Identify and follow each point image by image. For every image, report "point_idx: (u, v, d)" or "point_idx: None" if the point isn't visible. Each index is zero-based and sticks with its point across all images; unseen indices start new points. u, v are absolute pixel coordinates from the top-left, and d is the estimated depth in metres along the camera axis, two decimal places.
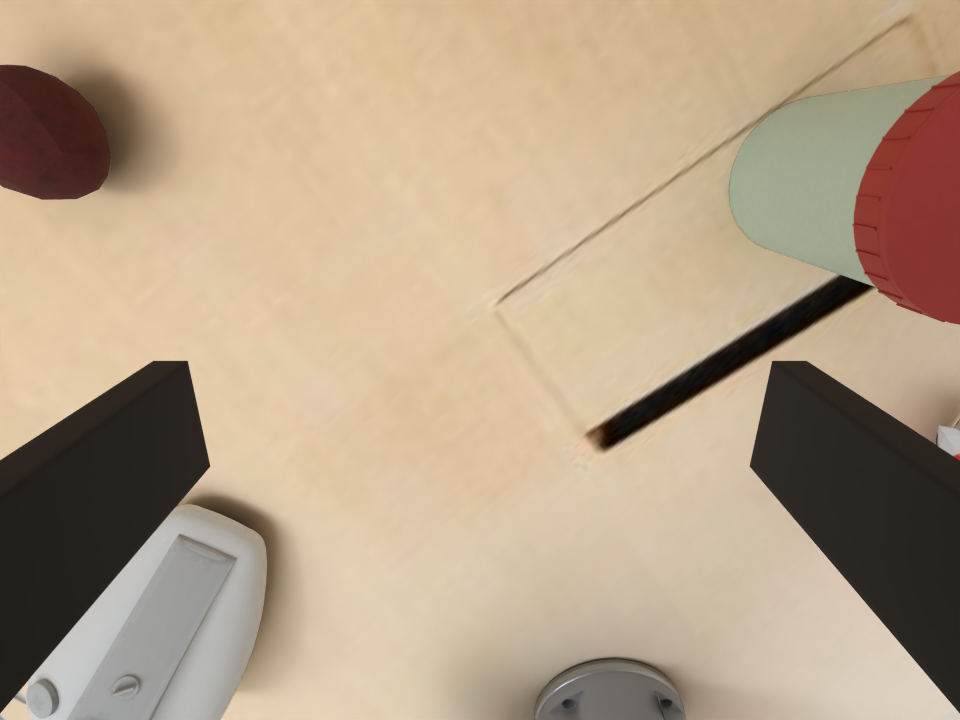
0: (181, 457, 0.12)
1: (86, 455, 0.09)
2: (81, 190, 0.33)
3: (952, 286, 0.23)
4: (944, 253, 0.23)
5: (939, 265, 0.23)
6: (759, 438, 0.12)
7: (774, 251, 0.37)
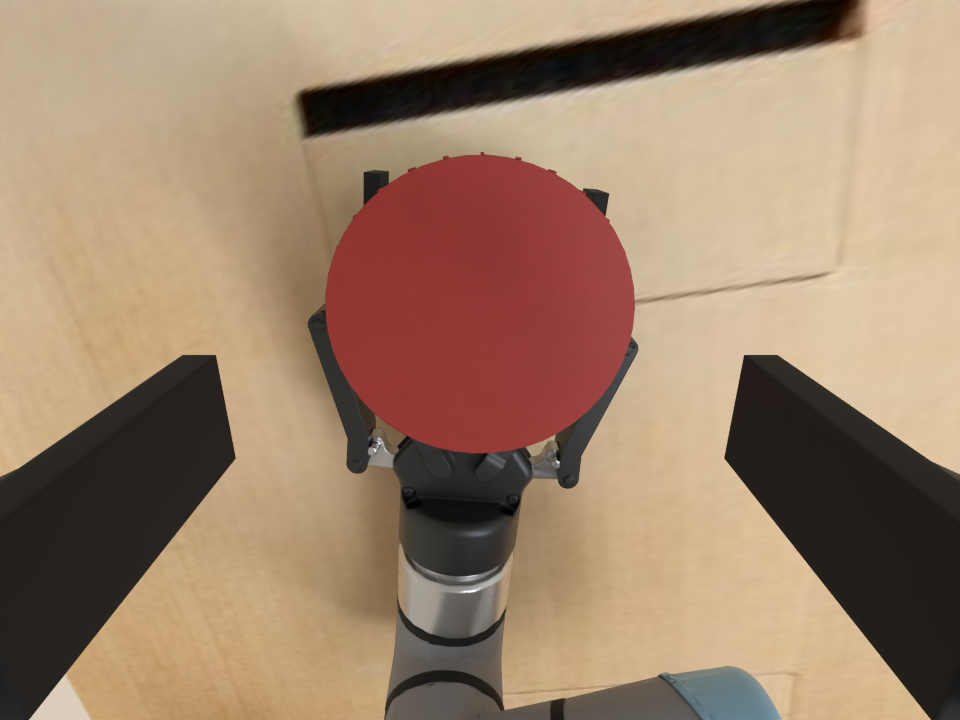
0: (210, 448, 0.12)
1: (127, 444, 0.09)
2: None
3: (574, 249, 0.18)
4: (574, 297, 0.19)
5: (582, 285, 0.19)
6: (732, 430, 0.13)
7: None
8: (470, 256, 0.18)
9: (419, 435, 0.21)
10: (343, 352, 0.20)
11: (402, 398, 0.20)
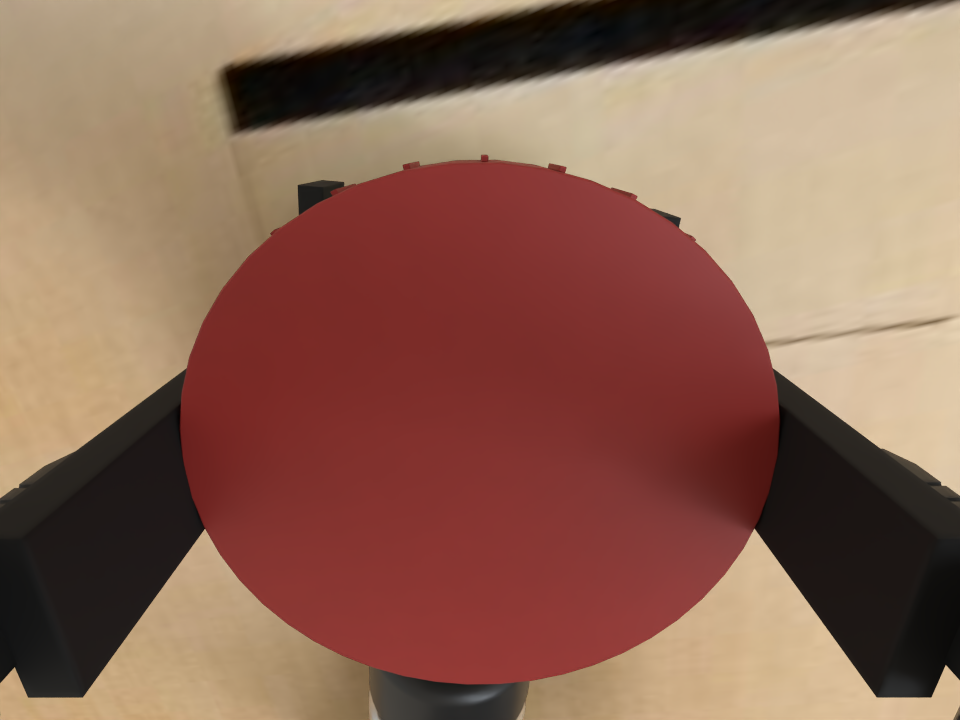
0: None
1: (168, 433, 0.09)
2: None
3: (669, 350, 0.09)
4: (662, 436, 0.10)
5: (680, 415, 0.10)
6: None
7: None
8: (460, 363, 0.09)
9: (372, 658, 0.12)
10: (223, 530, 0.10)
11: (339, 602, 0.11)
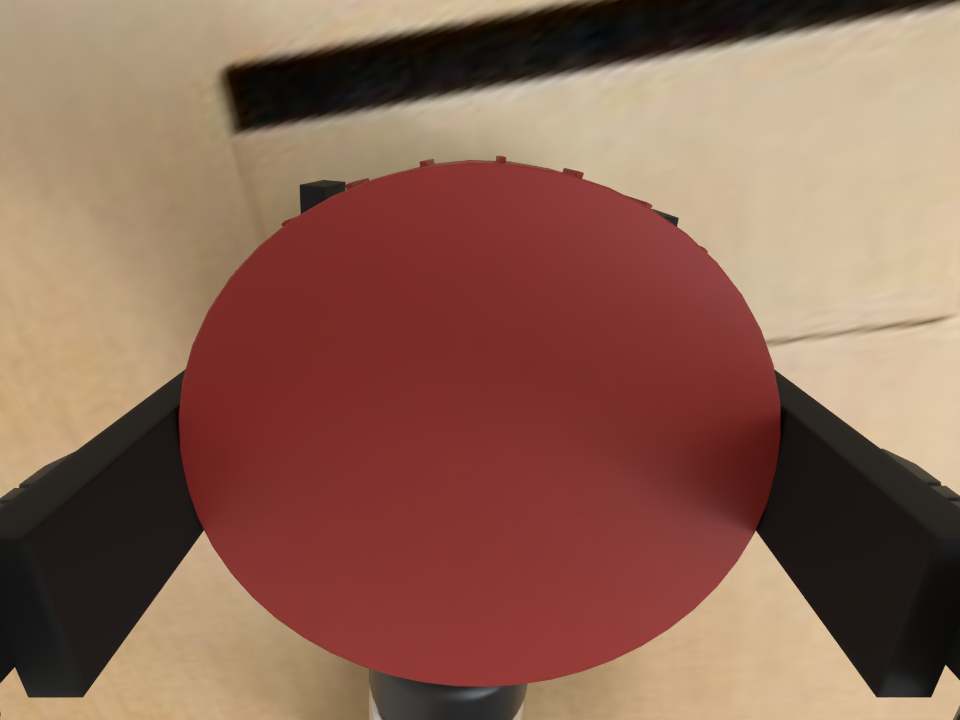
0: None
1: (168, 433, 0.09)
2: None
3: (336, 304, 0.09)
4: (437, 304, 0.09)
5: (411, 287, 0.09)
6: None
7: None
8: (357, 488, 0.10)
9: (703, 586, 0.11)
10: (524, 672, 0.12)
11: (621, 604, 0.11)
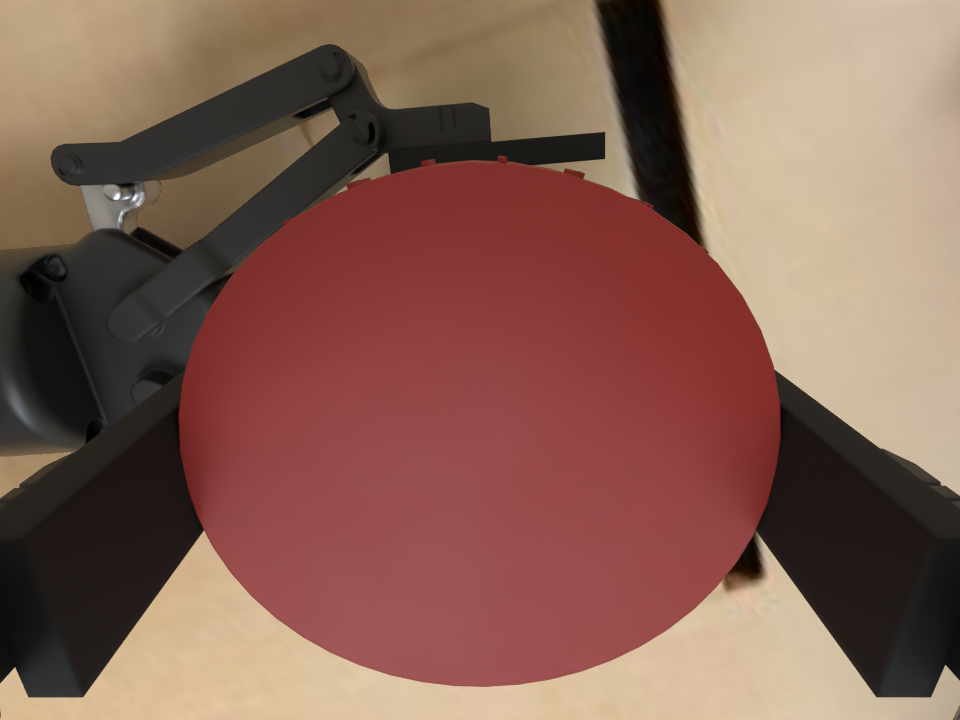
0: None
1: (168, 433, 0.09)
2: None
3: (337, 303, 0.09)
4: (438, 304, 0.09)
5: (412, 286, 0.09)
6: None
7: None
8: (357, 487, 0.10)
9: (703, 586, 0.11)
10: (523, 673, 0.12)
11: (620, 604, 0.11)
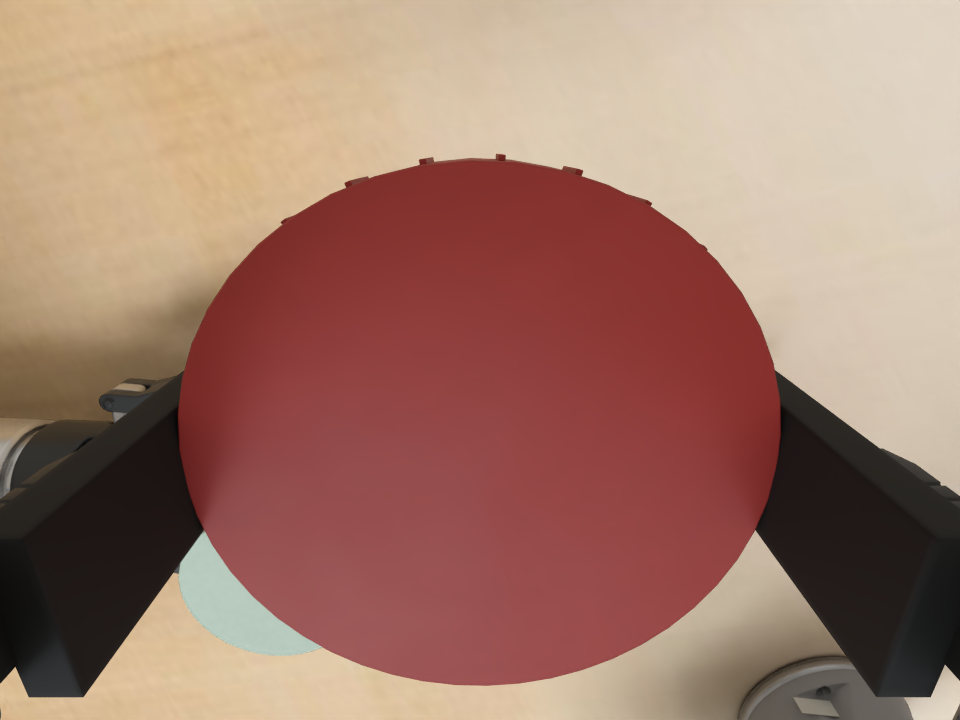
0: None
1: (168, 433, 0.09)
2: None
3: (336, 302, 0.09)
4: (437, 301, 0.09)
5: (411, 284, 0.09)
6: None
7: None
8: (357, 486, 0.10)
9: (704, 584, 0.11)
10: (524, 671, 0.12)
11: (621, 602, 0.11)
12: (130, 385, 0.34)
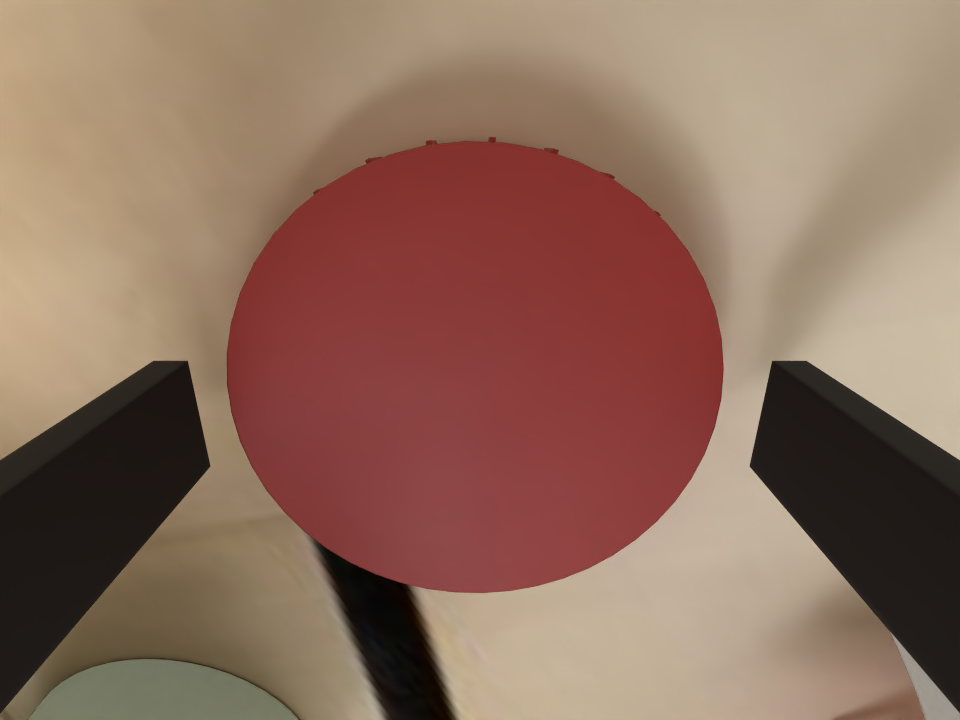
0: (181, 457, 0.12)
1: (86, 455, 0.09)
2: None
3: (358, 257, 0.11)
4: (440, 257, 0.11)
5: (419, 243, 0.11)
6: (759, 438, 0.12)
7: None
8: (374, 415, 0.12)
9: (663, 501, 0.13)
10: (514, 580, 0.14)
11: (594, 517, 0.13)
12: None
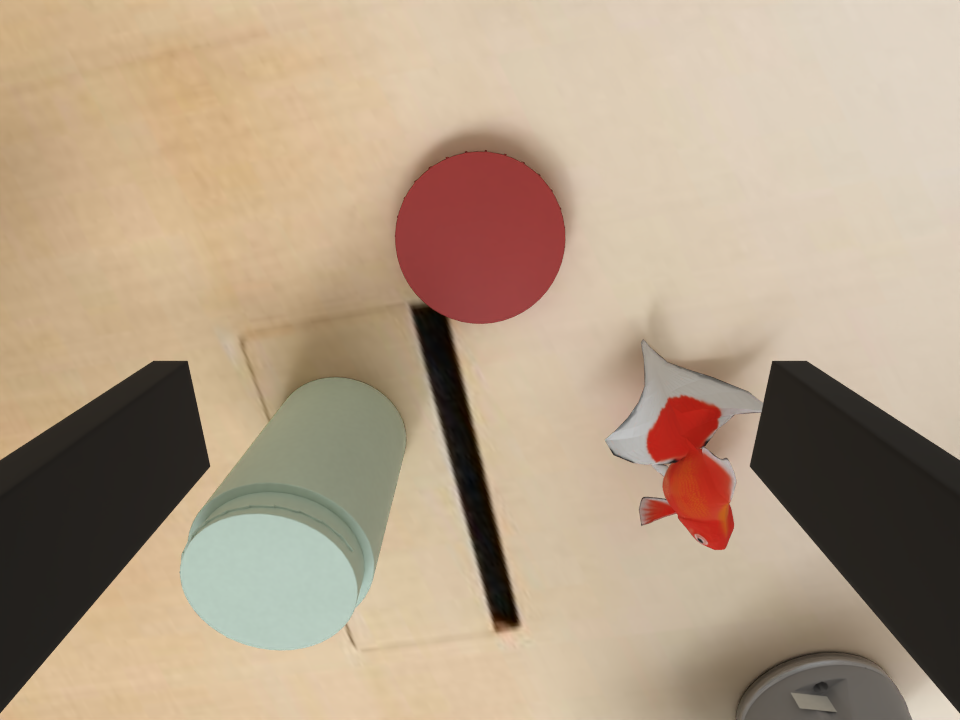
0: (181, 457, 0.12)
1: (86, 455, 0.09)
2: None
3: (442, 188, 0.34)
4: (469, 188, 0.34)
5: (462, 183, 0.33)
6: (759, 438, 0.12)
7: None
8: (445, 246, 0.35)
9: (548, 281, 0.36)
10: (494, 317, 0.37)
11: (523, 289, 0.36)
12: None
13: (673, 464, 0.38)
